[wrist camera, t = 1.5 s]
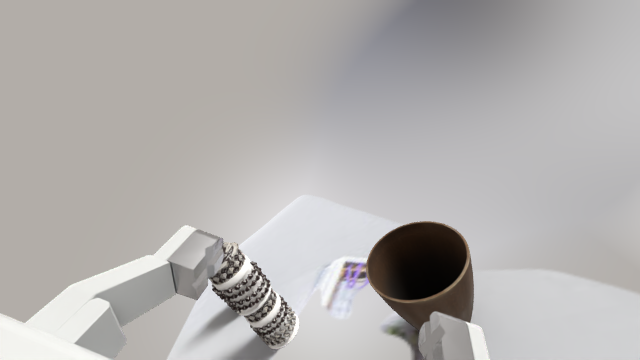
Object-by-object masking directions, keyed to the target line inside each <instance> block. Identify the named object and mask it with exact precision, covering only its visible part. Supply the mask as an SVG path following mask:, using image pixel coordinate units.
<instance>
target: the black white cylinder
mask: <svg viewBox="0 0 640 360" xmlns="http://www.w3.org/2000/svg"><path fill="white" fill-rule="evenodd" d="M221 249H222V251H223V252H224V257H223V261H222V264H221V266H220V268H219V270H218V271H217V273H216V274H215V275H214V276H212V277H210V278H209V279H210V280H211V282H212V284H213V285H212V287H214V288H213V289H212V290H213V291H214V292H216V294H217V295H218V296H220V298H221V299H224V302H226V303H227V304H228V305H229V306H230V307H231V308H232V310H235V312H237V313H238V314H239V315H240V316H244V317H245V318H246V320H247V321H248V322H249V323H250V324H251V325H250V327H251V328H253V331H255V332H257V335H259V337H260V338H261V339H262V340H263V341H264V342H265V343H266V344H267V345H268V346H269V347H270V348H271V349H280V348H283V347H285V346H286V345H287V344H289V343H290V342H291V341H292V339H293V338H294V337H295V336H296V333H297V331H298V328H299V319H298V316H297V315H296V314H294V313H295V312H294V311H293V312H292V311H291V310H292V309H291V307H289V308H288V305H287V302H284V299H283V297H281V296H280V295H278V294H277V293H276V292H275V291H273V289H272V288H271V284H270V281H269V280H267V279H266V275H263V274H262V272H261V268H258V266H257V263H255V262H250V260H249V259H248V257H247V256H246V255H244V254H242V252H241V250H240V249H238V244H237V243H235V242H234V243H227V242H226V243H223V246H222V247H221ZM216 288H217V289H216Z"/></svg>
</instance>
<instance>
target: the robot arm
mask: <svg viewBox="0 0 640 360" xmlns="http://www.w3.org/2000/svg"><path fill="white" fill-rule="evenodd" d="M222 246H223V238H220V237H217V236H215V235H212V234H209V233H207V232H204V231H201V230H199V229H196V228H193V227H190V226H187V225H186V226H184V227H182V228H180V229H179V230H178V231H177V232H176V233H175V234H174V235H173V236H172V237H171V238H170V240H168V241H167V242H166V243H165V244H164V245H163V246H162V247H161V248H160V249H159V250H158V251H157V252H156V253H155V254H154V255H153V256H151V255H147V256H144V257H142V258H139V259H137V260H134V261H132V262H129V263H127V264H124V265H122V266H119V267H116V268H114V269H111V270H108V271H106V272H103V273H101V274H98V275H96V276H93V277H90V278H88V279H85V280H83V281H80V282H78V283H75V284H72V285H70V286H69V287H68V288H67V289H65V290H64V291H63V292H62V293H61V294H59V295H58V296H57V297H56V298H55V299H53V300H52V301H51V302H50V303H49V304H47V305H46V306H45V307H44V308H43V309H41V310H40V311H39V312H38V313H37V314H35V315H34V316H33V317H32V318H31V319H29V320H28V321H27V322H26V323H23V322H20V321H18V320H15V319H13V318H10V317H8V316H6V315H3V314H1V313H0V360H113V359H114V358H115V357H116V356H117V354H118V353H119V352H120V351H121V349H122V348H123V346H125V344H126V337H125V335H124V333H123V331H122V329H121V327H122V326H124V325H126V324H127V323H129V322H131V321H133V320H134V319H136V318H138V317H139V316H141V315H142V314H144V313H146V312H148V311H149V310H151V309H153V308H154V307H156V306H157V305H159V304H161V303H163V302H164V301H166V300H167V299H169V298H171V297H172V296H174V295H176V293H177V294H180V295H184V296H186V297H189V298H192V299H195V300H198V298H199V297H200V296H201V294H202V293H203V291H204V290H205V289H206V287H207V286H208V278H210V277H212V276H214V275H215V274H216V273H217V271H218V270H219V268H220V266H221V264H222V261H223V257H224V252H223V251H222V249H221V247H222ZM418 348H419V351H420V352H421V354H422V356H423V358H422V359H421V360H490V358H489V354H488V350H487V346H486V342H485V338H484V334H483V330H482V329H481V327H480V326H478V325H475V324H472V323H469V322H466V321H463V320H461V319H458V318H455V317H452V316H449V315H446V314H443V313H440V312H437V311H435V312H433V313H432V314H431V315H430V321H428V322H425V323H424V324H423V325H422V327H421V329H420V333H419V339H418Z"/></svg>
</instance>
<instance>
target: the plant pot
mask: <svg viewBox="0 0 640 360" xmlns="http://www.w3.org/2000/svg"><path fill="white" fill-rule="evenodd" d="M366 273H367V277H368V280H369V282H370V284H371V286H372V287H373V288H374V290H375V291H376V292H377V293H378V294H379V295H380V296H381V297H382V298H383V300H385V302H386V303H387V304H388V305H389V306H390V307H391V308H392V309H393V310H394V311H395V312H397V313H398V314H399V315H400V316H401V317H402V318H403V319H405V320H406V321H407V322H408V323H410V324H411V325H412V326H414V327H415V328H416V329H418V330H419V331H420V329H421V327H422V325H423V324H424V323H425V322H428V321H430V315H431V314H432V313H433V312H435V311H437V312H440V313H443V314H446V315H449V316H452V317H455V318H458V319H461V320H463V321H466V322H469V323H470V321H471V316H472V310H473V299H474V284H473V271H472V264H471V257H470V251H469V247H468V244H467V242H466V240H465V239H464V237H463V236H462V235H461V234H460V233H459V232H458V231H457V230H455V229H453V228H452V227H450V226H448V225H445V224H442V223H437V222H430V221H424V222H414V223H410V224H406V225H403V226H400V227H398V228H396V229H394V230H392V231H391V232H389V233H387V234H386V235H385V236H383V237H382V238H381V239H380V240H379V241H378V242H377V243H376V244H375V246H374V247H373V249H372V250H371V252H370V254H369V257H368V260H367V265H366Z"/></svg>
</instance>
